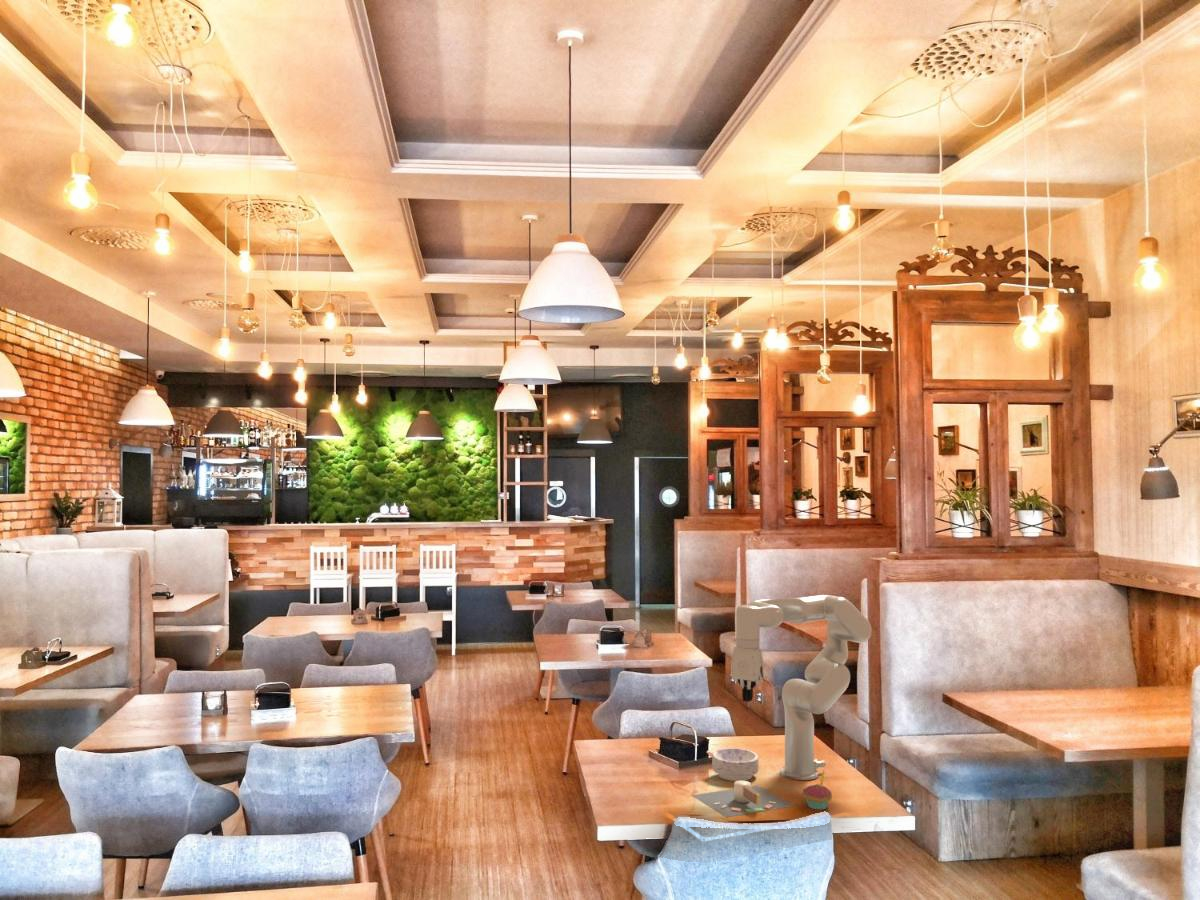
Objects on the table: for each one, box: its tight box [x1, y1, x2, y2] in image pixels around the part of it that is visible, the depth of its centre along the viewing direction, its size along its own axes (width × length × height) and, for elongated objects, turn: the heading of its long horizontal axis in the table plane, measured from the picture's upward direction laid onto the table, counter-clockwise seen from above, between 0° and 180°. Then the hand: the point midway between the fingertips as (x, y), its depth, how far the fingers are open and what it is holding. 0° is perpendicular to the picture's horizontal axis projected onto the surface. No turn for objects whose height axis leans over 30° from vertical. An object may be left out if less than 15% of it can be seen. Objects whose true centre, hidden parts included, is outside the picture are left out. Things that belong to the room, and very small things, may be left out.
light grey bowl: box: [711, 747, 760, 782], centre depth 305 cm, size 15×15×8 cm
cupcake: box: [802, 770, 833, 810], centre depth 277 cm, size 9×8×12 cm
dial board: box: [691, 785, 795, 818], centre depth 281 cm, size 24×20×1 cm
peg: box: [733, 780, 760, 805], centre depth 277 cm, size 13×5×5 cm, turn 19°
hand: (747, 700), depth 299 cm, fingers closed
